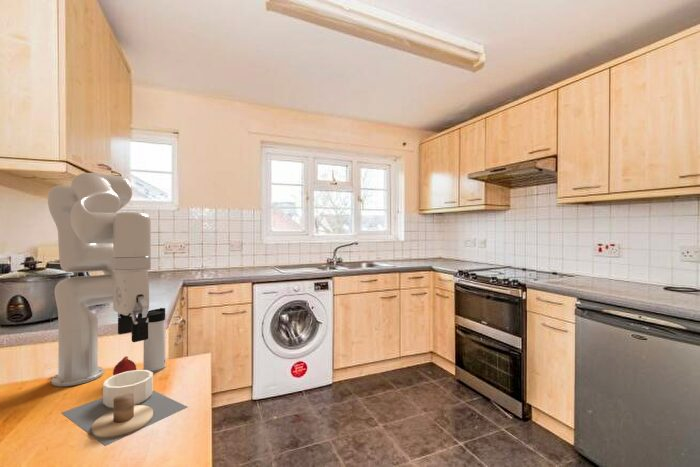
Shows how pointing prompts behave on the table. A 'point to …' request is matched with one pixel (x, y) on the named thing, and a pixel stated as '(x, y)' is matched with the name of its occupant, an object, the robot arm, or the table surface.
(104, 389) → the bowl
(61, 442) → the table surface
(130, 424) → the lid
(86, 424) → the mat
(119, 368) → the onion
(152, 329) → the travel mug
